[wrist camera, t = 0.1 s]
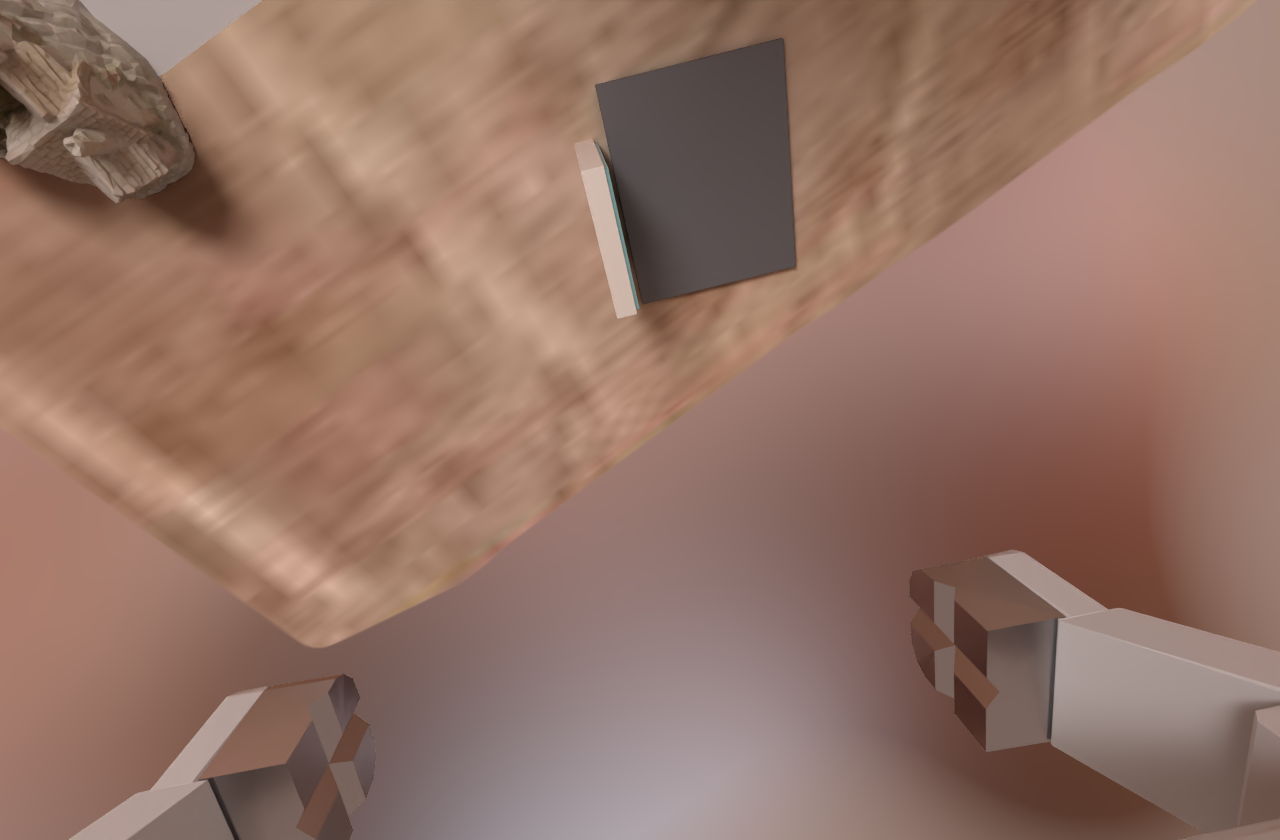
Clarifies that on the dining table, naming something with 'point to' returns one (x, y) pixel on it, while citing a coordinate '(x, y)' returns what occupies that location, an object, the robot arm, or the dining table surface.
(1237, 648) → the robot arm
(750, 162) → the mat
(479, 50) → the dining table surface
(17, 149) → the jagged grey rock
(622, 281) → the tile
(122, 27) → the kitchen cleaver
